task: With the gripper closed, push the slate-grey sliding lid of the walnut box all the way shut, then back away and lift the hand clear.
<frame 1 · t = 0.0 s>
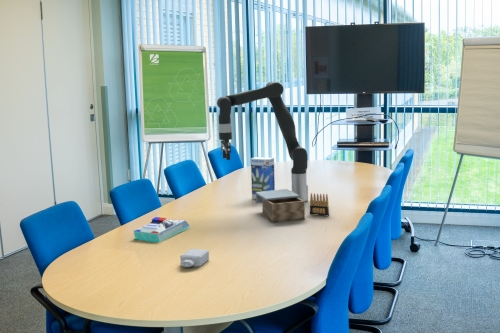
hand: (226, 159, 338), 29 cm above the table, tool pointing down, fingers open, 8 cm apart
ammunition clip: (319, 215, 318), on the table
string lights box: (263, 198, 366), on the table
box lid: (277, 198, 324), point 8 cm above the table, slide at 9.0 cm
charger: (192, 265, 242), on the table
walnut box: (283, 217, 316), on the table
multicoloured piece: (162, 234, 293), on the table
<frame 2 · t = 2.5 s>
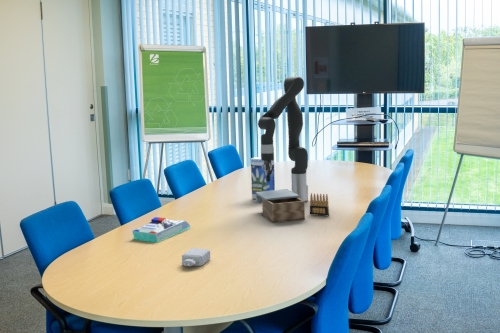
hand: (268, 181, 337), 16 cm above the table, tool pointing down, fingers closed
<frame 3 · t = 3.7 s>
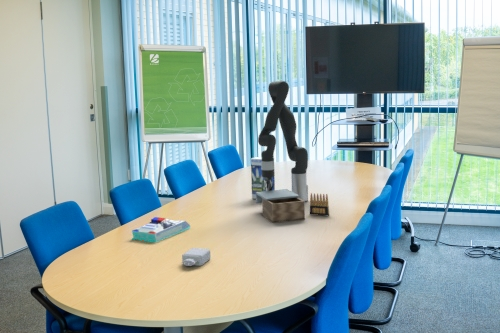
hand: (268, 197, 338), 6 cm above the table, tool pointing down, fingers closed
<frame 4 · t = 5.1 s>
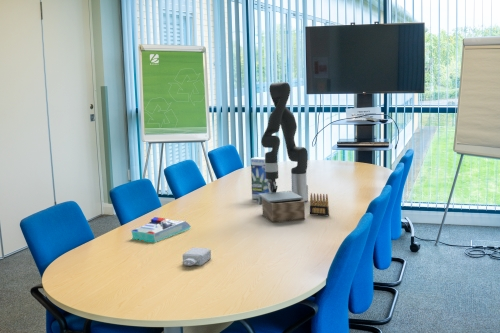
hand: (272, 200, 331), 6 cm above the table, tool pointing down, fingers closed
box lid: (280, 200, 319), point 8 cm above the table, slide at 3.5 cm, touching hand
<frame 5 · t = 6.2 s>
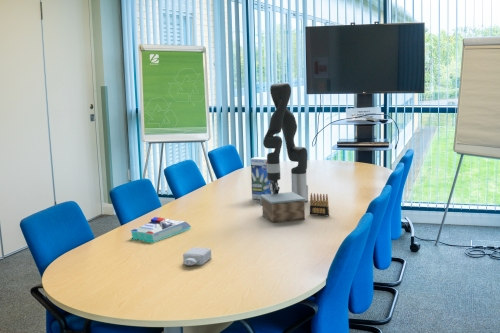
hand: (274, 201, 328), 6 cm above the table, tool pointing down, fingers closed
box lid: (282, 202, 315), point 8 cm above the table, slide at 0.0 cm, touching hand
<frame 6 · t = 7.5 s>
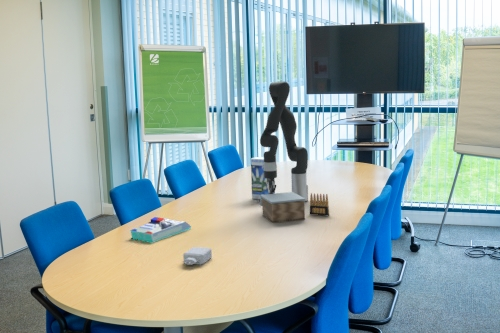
hand: (271, 199, 335), 6 cm above the table, tool pointing down, fingers closed
box lid: (282, 202, 315), point 8 cm above the table, slide at 0.0 cm
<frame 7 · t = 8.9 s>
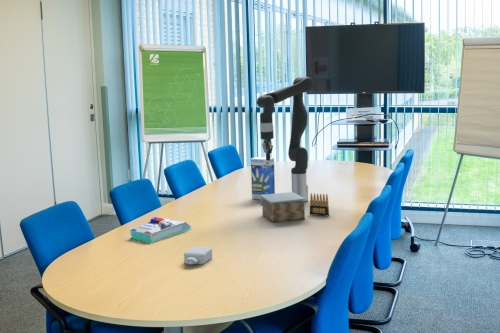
hand: (268, 160, 335), 28 cm above the table, tool pointing down, fingers closed
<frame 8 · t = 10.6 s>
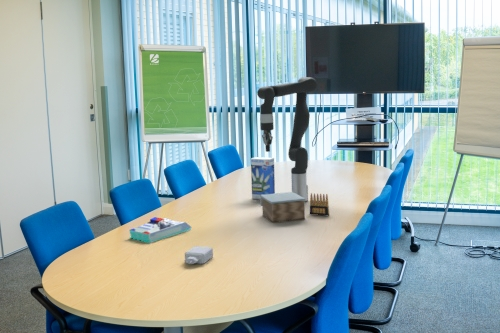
hand: (267, 151, 336), 33 cm above the table, tool pointing down, fingers closed
at the end: box lid slide at 0.0 cm; ammunition clip moved 0.3 cm from its start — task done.
